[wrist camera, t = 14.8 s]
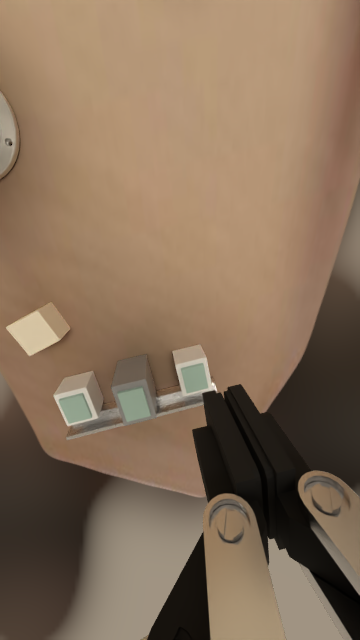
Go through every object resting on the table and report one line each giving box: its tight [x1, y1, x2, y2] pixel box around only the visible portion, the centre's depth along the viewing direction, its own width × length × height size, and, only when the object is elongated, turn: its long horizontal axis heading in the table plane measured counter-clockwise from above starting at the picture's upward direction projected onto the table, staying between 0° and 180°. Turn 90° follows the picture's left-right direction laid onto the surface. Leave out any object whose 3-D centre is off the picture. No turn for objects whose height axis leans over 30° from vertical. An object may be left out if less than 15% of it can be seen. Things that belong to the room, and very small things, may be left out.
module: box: [111, 354, 157, 426], centre depth 39 cm, size 7×5×8 cm
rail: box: [66, 377, 218, 440], centre depth 42 cm, size 2×26×5 cm, turn 102°
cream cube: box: [6, 302, 71, 356], centre depth 36 cm, size 5×5×5 cm
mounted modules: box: [53, 344, 213, 426], centre depth 40 cm, size 6×24×6 cm, turn 103°
